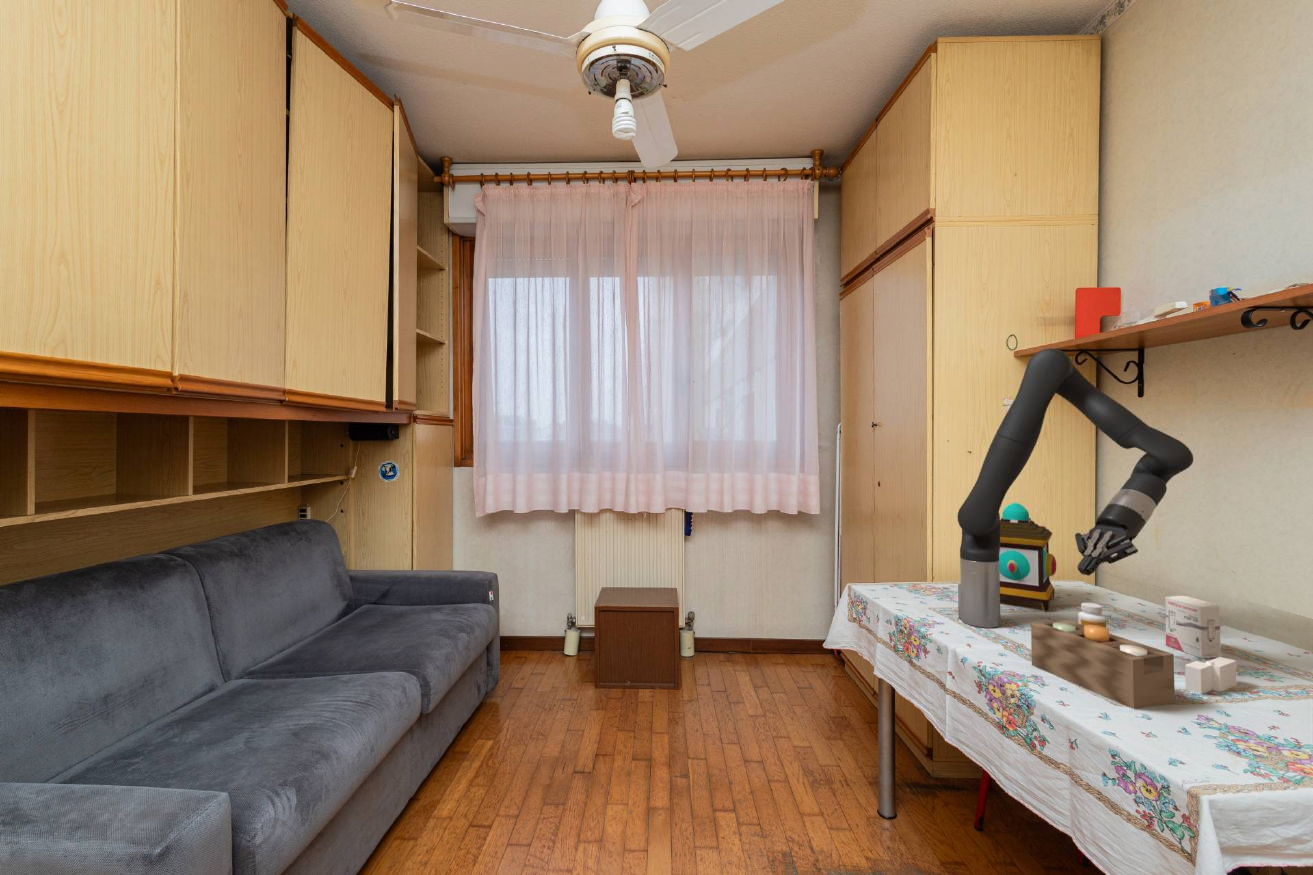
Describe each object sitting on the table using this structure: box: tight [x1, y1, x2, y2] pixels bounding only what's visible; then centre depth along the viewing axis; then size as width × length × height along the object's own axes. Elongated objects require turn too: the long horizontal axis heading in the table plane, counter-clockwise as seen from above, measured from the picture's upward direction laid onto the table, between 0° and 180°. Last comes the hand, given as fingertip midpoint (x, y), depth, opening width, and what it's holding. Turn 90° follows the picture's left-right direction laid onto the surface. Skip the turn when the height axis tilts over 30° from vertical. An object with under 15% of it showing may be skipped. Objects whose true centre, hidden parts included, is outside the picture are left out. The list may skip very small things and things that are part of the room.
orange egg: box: [1084, 625, 1110, 643], centre depth 114 cm, size 4×4×3 cm
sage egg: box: [1053, 622, 1076, 632], centre depth 121 cm, size 4×4×3 cm
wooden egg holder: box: [1030, 619, 1176, 710], centre depth 114 cm, size 21×10×9 cm, turn 14°
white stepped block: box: [1184, 656, 1237, 695], centre depth 111 cm, size 15×11×6 cm
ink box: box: [1165, 595, 1222, 659], centre depth 130 cm, size 9×5×12 cm, turn 5°
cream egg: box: [1120, 645, 1147, 656], centre depth 107 cm, size 4×4×3 cm
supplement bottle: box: [1077, 602, 1107, 628], centre depth 134 cm, size 5×5×10 cm
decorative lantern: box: [999, 502, 1057, 613], centre depth 172 cm, size 20×20×30 cm
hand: (1083, 572), depth 122 cm, fingers closed
